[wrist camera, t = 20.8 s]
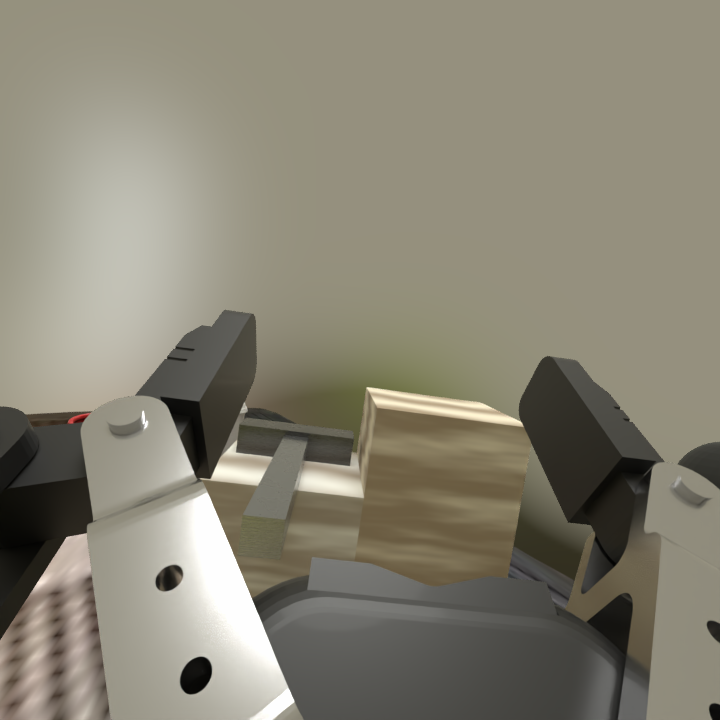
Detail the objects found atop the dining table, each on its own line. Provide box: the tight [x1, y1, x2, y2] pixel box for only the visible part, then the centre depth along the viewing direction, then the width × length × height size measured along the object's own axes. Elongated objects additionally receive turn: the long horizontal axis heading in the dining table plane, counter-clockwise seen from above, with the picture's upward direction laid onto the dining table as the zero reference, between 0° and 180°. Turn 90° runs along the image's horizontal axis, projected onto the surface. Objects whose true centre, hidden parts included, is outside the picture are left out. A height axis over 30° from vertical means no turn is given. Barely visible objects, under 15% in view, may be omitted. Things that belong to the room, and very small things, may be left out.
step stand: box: [200, 387, 531, 599], centre depth 38 cm, size 12×28×32 cm, turn 93°
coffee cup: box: [221, 402, 247, 456], centre depth 101 cm, size 10×10×15 cm
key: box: [236, 418, 354, 560], centre depth 32 cm, size 20×12×3 cm, turn 3°
